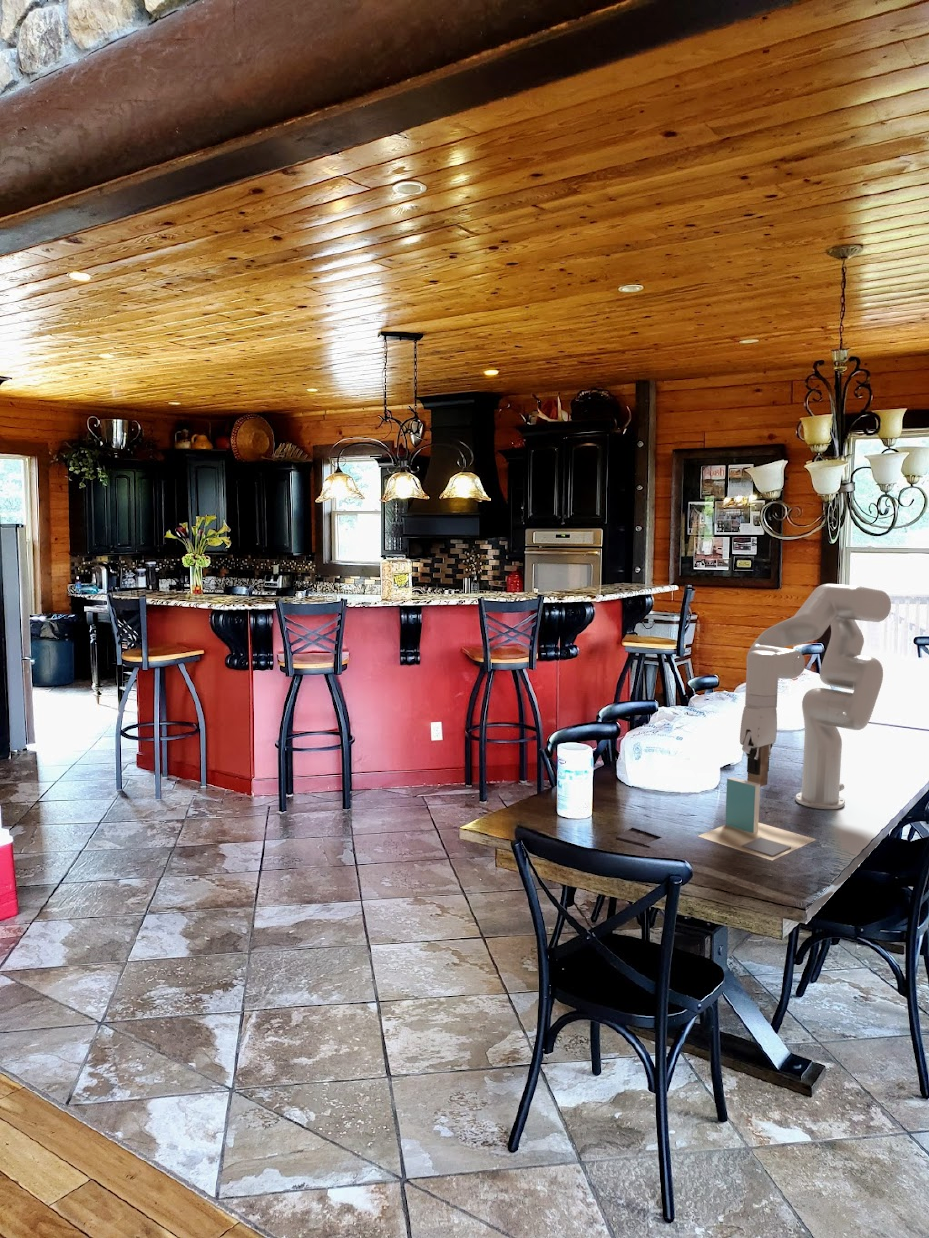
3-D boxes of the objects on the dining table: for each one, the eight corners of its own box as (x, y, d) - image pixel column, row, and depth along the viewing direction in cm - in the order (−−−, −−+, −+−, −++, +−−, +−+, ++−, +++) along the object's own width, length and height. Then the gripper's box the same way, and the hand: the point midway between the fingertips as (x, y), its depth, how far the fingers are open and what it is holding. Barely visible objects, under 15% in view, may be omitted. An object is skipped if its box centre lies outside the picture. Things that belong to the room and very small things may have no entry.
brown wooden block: (754, 781, 231) (756, 735, 230) (767, 784, 228) (769, 737, 227) (747, 783, 229) (749, 737, 227) (759, 787, 226) (761, 740, 225)
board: (742, 822, 233) (742, 817, 233) (816, 844, 218) (816, 839, 218) (696, 840, 220) (696, 836, 220) (771, 865, 205) (772, 860, 205)
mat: (760, 838, 218) (760, 837, 218) (791, 848, 212) (791, 846, 212) (741, 846, 213) (741, 845, 213) (772, 856, 207) (772, 855, 207)
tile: (729, 823, 229) (731, 776, 228) (758, 831, 223) (760, 784, 222) (724, 824, 228) (726, 778, 226) (753, 833, 222) (755, 785, 220)
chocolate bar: (616, 836, 222) (650, 817, 236) (615, 840, 222) (650, 820, 236) (649, 845, 216) (682, 824, 230) (649, 849, 216) (682, 828, 230)
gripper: (765, 693, 234) (762, 763, 236) (729, 702, 223) (726, 775, 226) (792, 698, 229) (788, 769, 231) (756, 707, 218) (753, 782, 220)
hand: (757, 771), depth 228 cm, fingers closed on brown wooden block, 3 cm apart
